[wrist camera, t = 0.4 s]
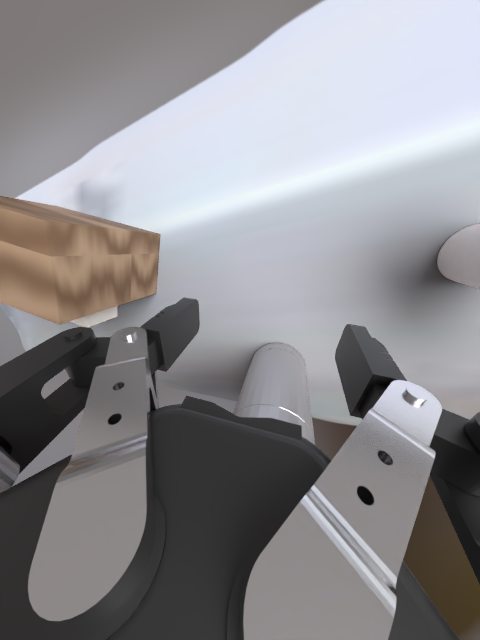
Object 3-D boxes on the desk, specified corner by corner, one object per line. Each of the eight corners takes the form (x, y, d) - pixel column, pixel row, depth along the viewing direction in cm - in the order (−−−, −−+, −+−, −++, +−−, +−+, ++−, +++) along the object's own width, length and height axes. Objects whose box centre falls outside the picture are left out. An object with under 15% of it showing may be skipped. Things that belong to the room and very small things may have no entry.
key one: (117, 317, 31) (87, 329, 26) (90, 308, 31) (56, 318, 27) (117, 282, 29) (83, 289, 24) (88, 273, 29) (50, 278, 25)
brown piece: (156, 293, 35) (59, 324, 20) (65, 264, 38) (-77, 273, 23) (160, 234, 31) (45, 220, 17) (58, 206, 34) (-117, 174, 19)
